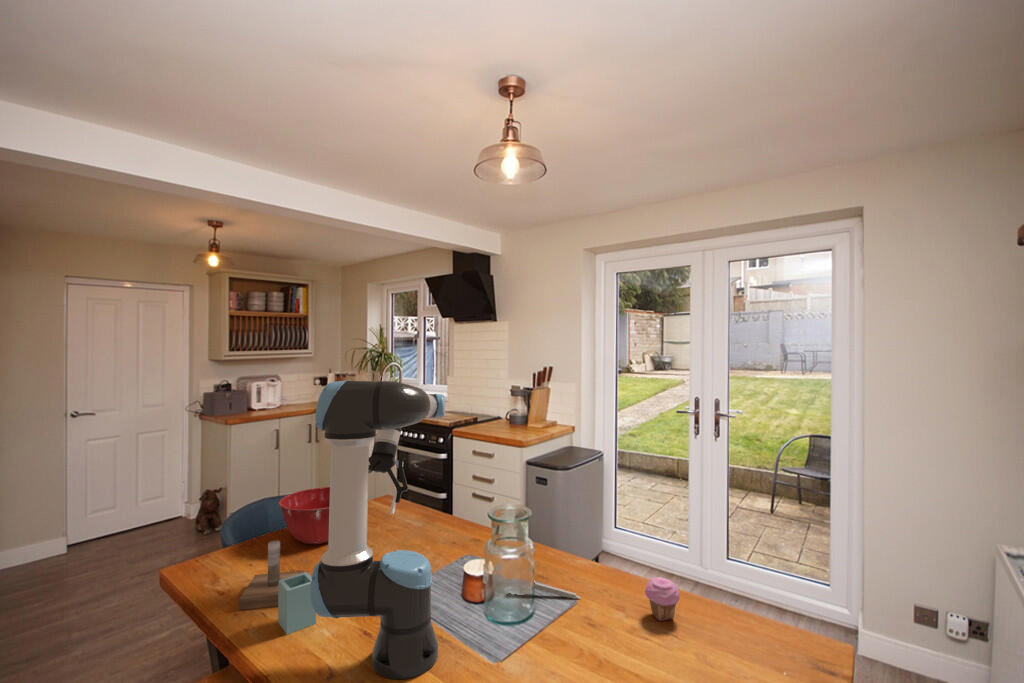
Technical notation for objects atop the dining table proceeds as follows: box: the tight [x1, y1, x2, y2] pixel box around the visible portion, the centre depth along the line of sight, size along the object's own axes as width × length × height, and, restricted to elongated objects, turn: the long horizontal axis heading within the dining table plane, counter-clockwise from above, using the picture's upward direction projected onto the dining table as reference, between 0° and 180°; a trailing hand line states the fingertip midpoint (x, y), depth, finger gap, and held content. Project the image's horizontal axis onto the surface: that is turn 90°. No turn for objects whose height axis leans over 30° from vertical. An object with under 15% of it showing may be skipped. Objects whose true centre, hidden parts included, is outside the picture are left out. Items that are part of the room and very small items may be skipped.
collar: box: [277, 571, 317, 635], centre depth 125 cm, size 7×7×11 cm
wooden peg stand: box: [238, 540, 305, 611], centre depth 139 cm, size 14×14×15 cm
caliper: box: [534, 580, 581, 600], centre depth 140 cm, size 20×1×6 cm, turn 81°
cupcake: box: [644, 576, 681, 622], centre depth 129 cm, size 9×9×10 cm
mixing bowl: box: [278, 486, 330, 545], centre depth 181 cm, size 28×28×16 cm
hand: (370, 510), depth 147 cm, fingers open, 13 cm apart
